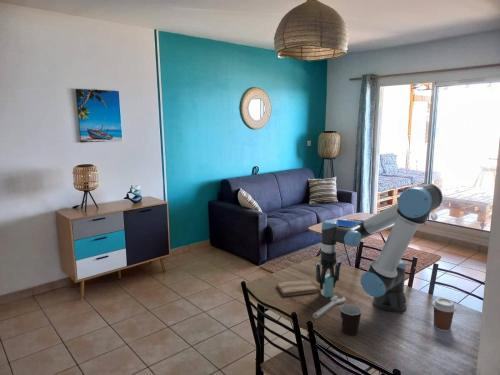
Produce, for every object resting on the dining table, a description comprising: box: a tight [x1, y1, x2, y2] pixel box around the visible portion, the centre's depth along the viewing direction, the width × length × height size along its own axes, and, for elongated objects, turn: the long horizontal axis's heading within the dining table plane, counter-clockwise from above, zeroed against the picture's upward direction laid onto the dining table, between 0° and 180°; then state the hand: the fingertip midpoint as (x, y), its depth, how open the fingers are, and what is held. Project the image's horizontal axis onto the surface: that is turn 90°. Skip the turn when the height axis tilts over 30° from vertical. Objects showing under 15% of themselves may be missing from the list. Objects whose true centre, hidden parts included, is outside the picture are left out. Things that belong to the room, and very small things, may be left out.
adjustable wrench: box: [312, 295, 346, 320], centre depth 175 cm, size 25×6×2 cm, turn 133°
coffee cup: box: [431, 297, 457, 332], centre depth 156 cm, size 9×9×12 cm
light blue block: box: [324, 273, 334, 298], centre depth 189 cm, size 11×4×10 cm, turn 13°
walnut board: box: [276, 278, 318, 297], centre depth 193 cm, size 12×18×2 cm, turn 104°
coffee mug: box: [339, 304, 363, 337], centre depth 155 cm, size 12×9×10 cm
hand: (326, 294), depth 187 cm, fingers closed on light blue block, 4 cm apart
